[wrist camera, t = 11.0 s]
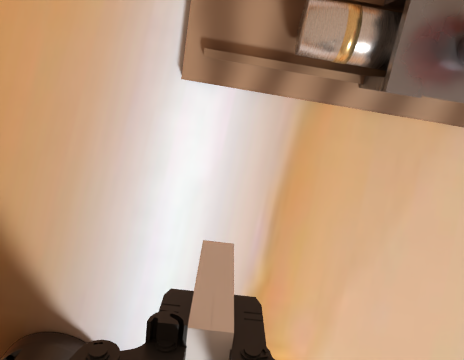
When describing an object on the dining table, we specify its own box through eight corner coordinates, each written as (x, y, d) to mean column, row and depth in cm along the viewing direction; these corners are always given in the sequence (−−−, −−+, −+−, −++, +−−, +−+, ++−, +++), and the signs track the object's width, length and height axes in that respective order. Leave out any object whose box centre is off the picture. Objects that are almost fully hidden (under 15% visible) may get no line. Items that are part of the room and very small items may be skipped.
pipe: (292, 56, 37) (300, 54, 32) (303, 1, 36) (313, -10, 31) (390, 73, 37) (413, 74, 33) (405, 19, 36) (431, 11, 31)
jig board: (183, 78, 39) (179, 79, 37) (200, -61, 36) (197, -69, 34) (478, 129, 40) (491, 132, 38) (524, -3, 36) (542, -7, 34)
